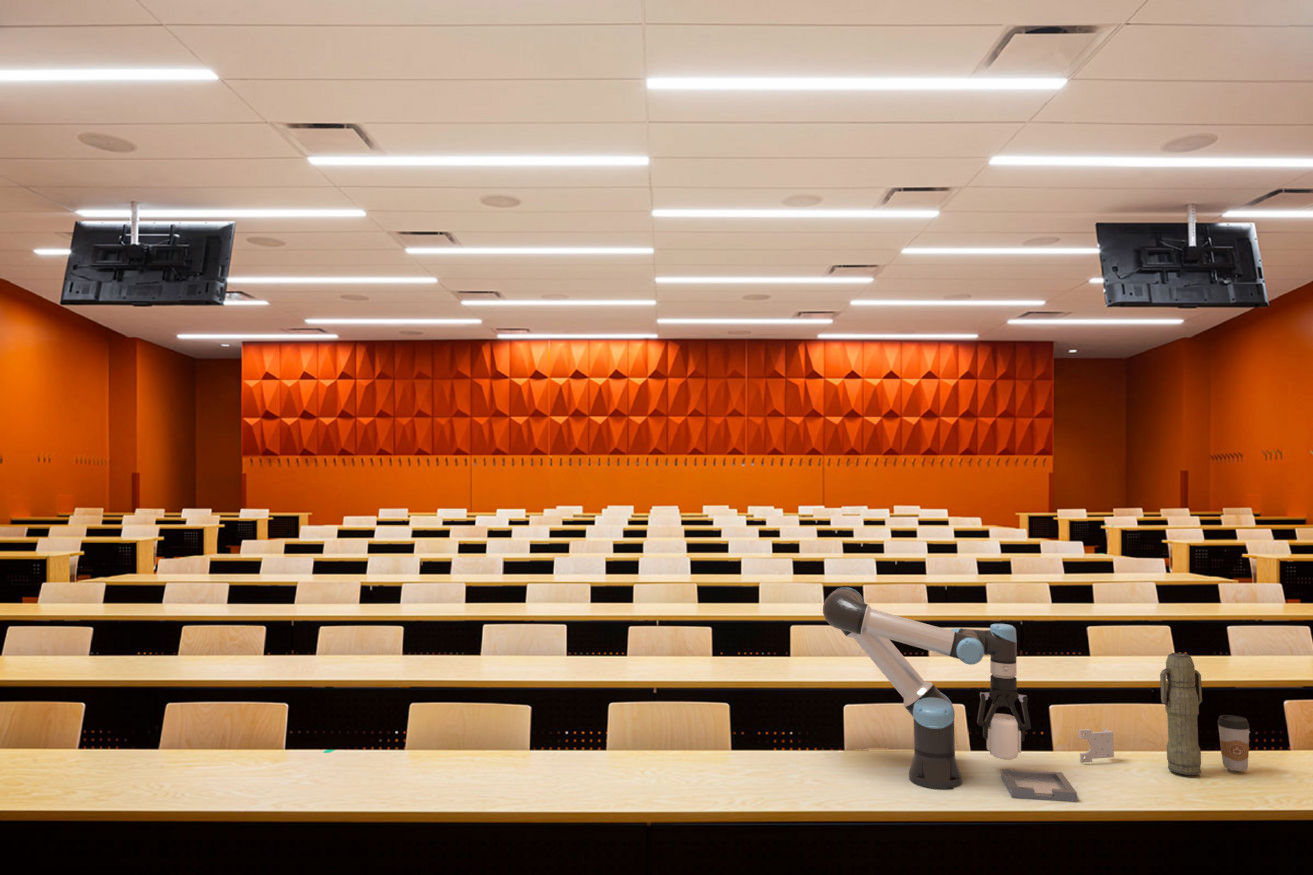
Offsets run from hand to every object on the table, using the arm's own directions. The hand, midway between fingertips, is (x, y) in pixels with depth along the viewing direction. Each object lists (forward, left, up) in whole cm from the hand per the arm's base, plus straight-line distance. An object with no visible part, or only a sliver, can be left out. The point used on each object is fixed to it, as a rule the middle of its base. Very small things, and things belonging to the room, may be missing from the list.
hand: (1003, 750), depth 264 cm
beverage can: (0, 0, -2) cm, 2 cm away
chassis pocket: (+7, -14, -6) cm, 17 cm away
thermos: (+54, +11, -7) cm, 55 cm away
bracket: (+30, +17, -7) cm, 35 cm away
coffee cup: (+70, +16, -7) cm, 72 cm away
